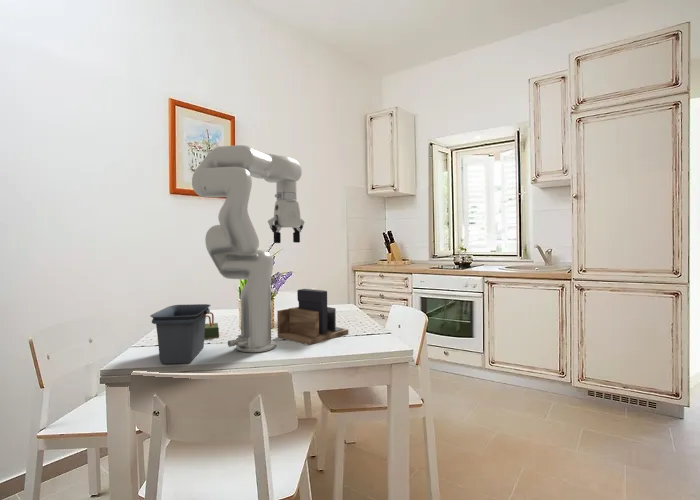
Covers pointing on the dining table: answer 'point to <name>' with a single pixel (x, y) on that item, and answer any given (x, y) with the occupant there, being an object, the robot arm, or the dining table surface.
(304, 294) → the black upright block
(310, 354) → the dining table surface
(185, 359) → the storage bin
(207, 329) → the green handled box
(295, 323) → the wooden desk organizer
